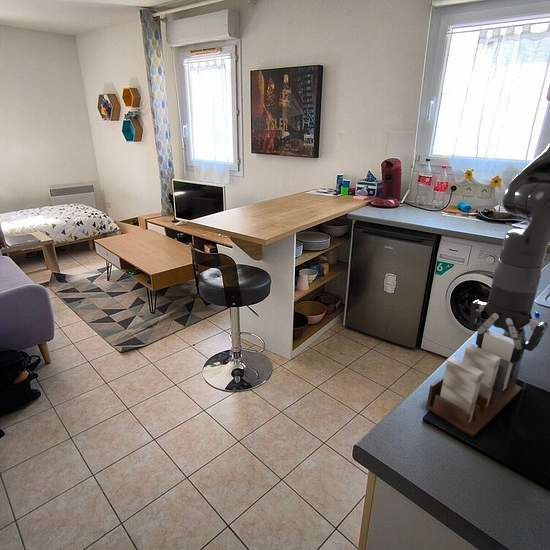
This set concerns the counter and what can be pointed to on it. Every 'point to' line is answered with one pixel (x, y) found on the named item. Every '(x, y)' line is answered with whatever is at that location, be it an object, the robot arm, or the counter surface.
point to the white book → (499, 348)
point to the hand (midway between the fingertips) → (496, 354)
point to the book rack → (473, 389)
